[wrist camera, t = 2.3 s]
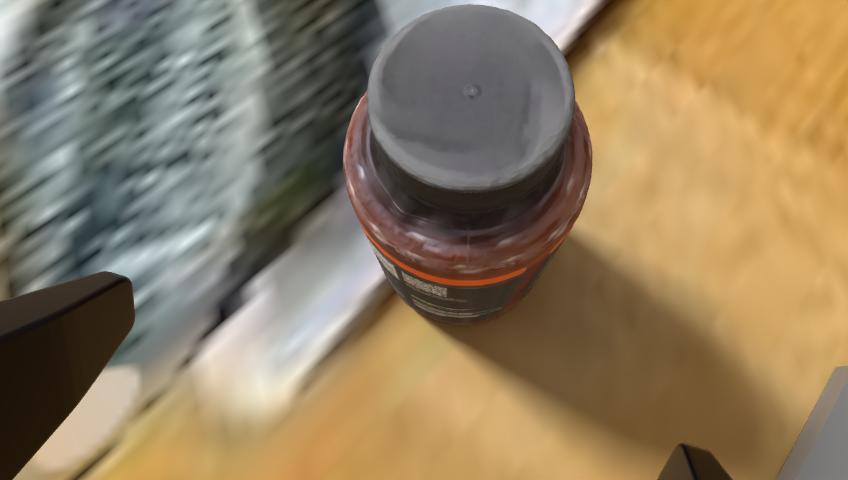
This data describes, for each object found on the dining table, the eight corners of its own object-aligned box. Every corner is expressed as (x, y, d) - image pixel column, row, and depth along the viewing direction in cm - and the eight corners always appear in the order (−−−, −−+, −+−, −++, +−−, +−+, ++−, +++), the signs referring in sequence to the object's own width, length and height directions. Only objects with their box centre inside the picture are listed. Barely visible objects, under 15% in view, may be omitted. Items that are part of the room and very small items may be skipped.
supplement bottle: (522, 162, 23) (596, -64, 12) (555, 313, 21) (676, 214, 10) (370, 186, 23) (301, -19, 12) (391, 340, 21) (334, 268, 10)
